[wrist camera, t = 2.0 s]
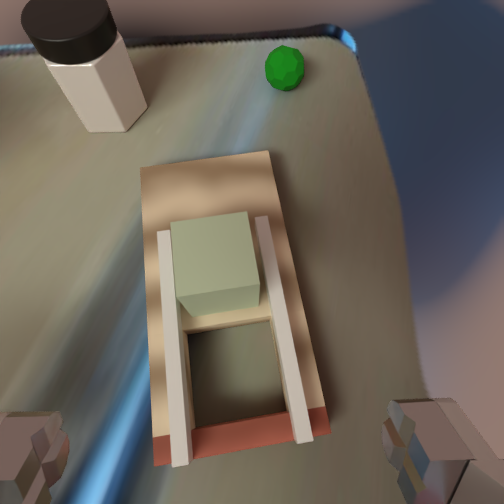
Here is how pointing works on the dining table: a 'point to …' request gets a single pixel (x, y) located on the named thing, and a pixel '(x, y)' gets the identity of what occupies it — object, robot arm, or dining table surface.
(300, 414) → the channel rails
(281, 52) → the polyhedron
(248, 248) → the block
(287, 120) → the dining table surface
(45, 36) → the jar
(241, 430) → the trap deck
